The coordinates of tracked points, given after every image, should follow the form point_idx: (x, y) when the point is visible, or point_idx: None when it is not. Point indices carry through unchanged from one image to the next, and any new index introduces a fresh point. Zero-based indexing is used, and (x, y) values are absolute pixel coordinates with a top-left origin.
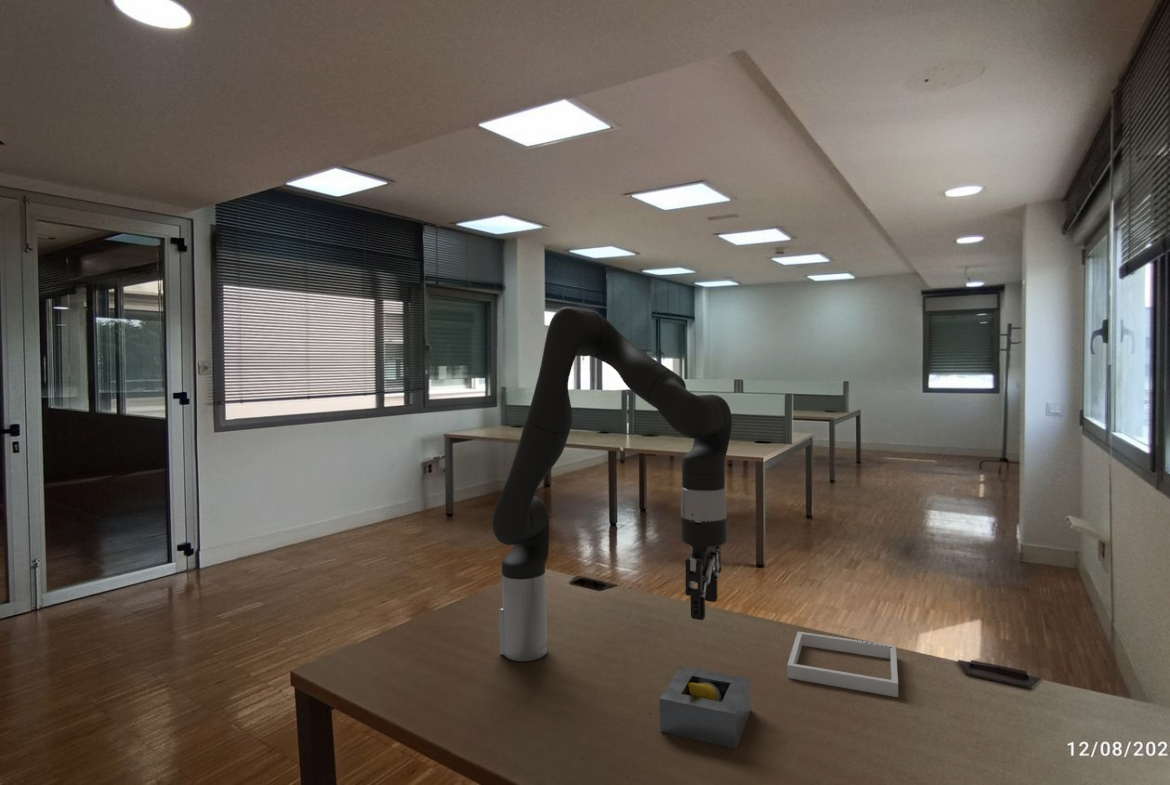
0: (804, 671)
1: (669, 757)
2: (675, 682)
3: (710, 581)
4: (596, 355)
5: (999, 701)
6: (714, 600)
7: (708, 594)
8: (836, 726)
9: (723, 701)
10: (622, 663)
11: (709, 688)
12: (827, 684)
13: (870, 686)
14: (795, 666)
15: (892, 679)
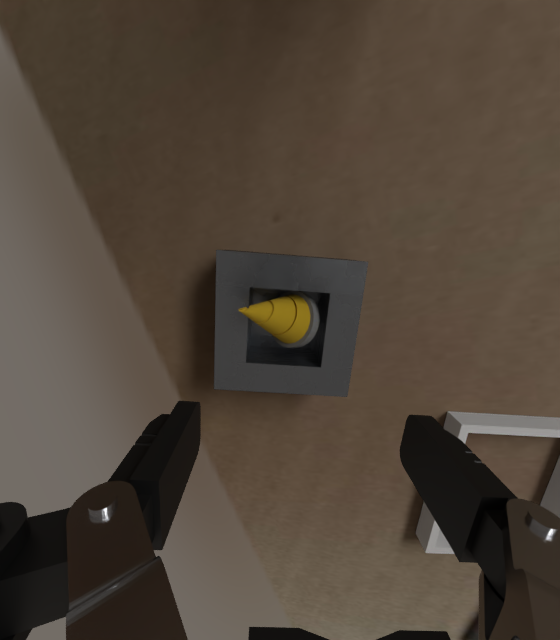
0: None
1: (167, 280)
2: (291, 266)
3: (464, 526)
4: None
5: (427, 614)
6: (402, 455)
7: (422, 449)
8: (322, 471)
9: (249, 365)
10: (460, 97)
11: (286, 335)
12: None
13: (426, 515)
14: (458, 436)
15: (436, 548)
